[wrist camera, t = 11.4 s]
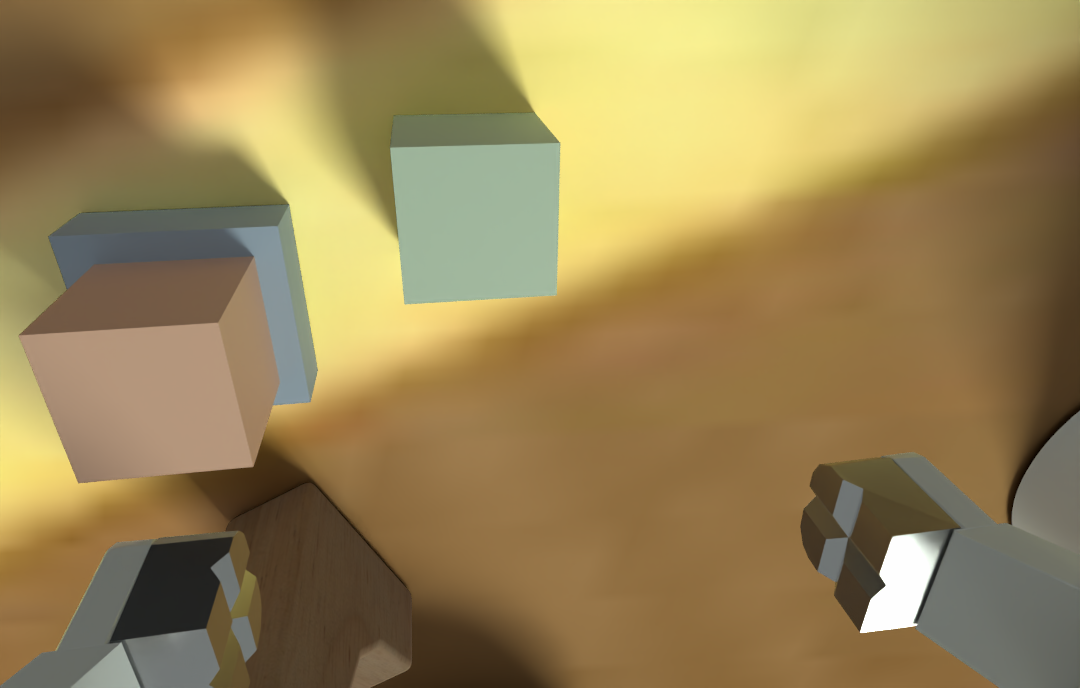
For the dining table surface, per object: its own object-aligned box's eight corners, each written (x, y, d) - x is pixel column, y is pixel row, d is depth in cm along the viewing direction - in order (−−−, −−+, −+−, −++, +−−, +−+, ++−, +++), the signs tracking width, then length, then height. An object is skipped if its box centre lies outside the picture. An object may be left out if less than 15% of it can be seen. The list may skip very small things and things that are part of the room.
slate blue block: (289, 204, 25) (277, 226, 23) (317, 370, 28) (310, 402, 26) (79, 213, 24) (48, 236, 22) (135, 384, 27) (112, 418, 25)
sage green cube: (534, 112, 25) (560, 142, 21) (533, 242, 27) (556, 295, 23) (393, 115, 24) (389, 147, 20) (405, 249, 27) (404, 304, 22)
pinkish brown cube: (254, 256, 23) (218, 322, 19) (279, 382, 26) (253, 466, 21) (93, 264, 23) (18, 335, 18) (136, 393, 25) (78, 483, 21)
